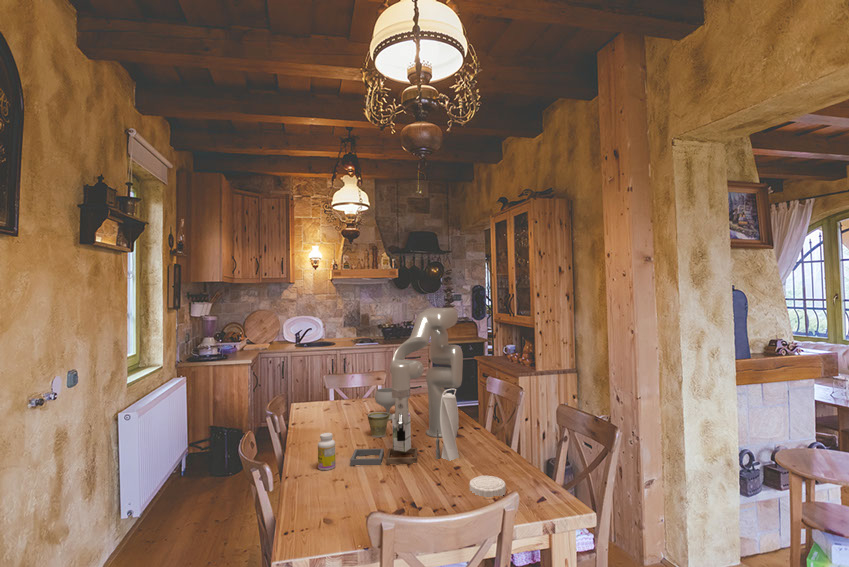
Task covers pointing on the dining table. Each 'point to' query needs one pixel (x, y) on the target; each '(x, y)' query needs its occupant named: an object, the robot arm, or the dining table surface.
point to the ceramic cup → (378, 423)
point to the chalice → (385, 399)
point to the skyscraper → (448, 427)
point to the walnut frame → (401, 460)
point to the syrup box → (406, 444)
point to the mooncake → (487, 486)
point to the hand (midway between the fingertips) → (401, 437)
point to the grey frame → (367, 460)
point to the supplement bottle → (326, 452)
